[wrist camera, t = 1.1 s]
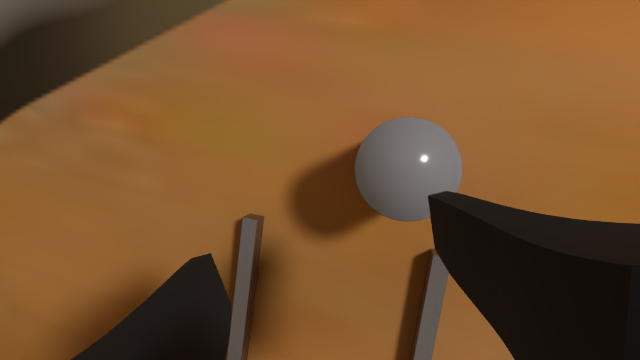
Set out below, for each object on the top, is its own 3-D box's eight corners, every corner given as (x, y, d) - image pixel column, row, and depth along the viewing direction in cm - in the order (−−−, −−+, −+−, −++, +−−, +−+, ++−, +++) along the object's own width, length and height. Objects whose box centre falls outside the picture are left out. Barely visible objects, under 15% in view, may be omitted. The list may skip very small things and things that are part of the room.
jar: (452, 128, 21) (471, 124, 16) (437, 207, 22) (451, 230, 16) (371, 118, 22) (363, 110, 16) (359, 194, 23) (347, 211, 17)
